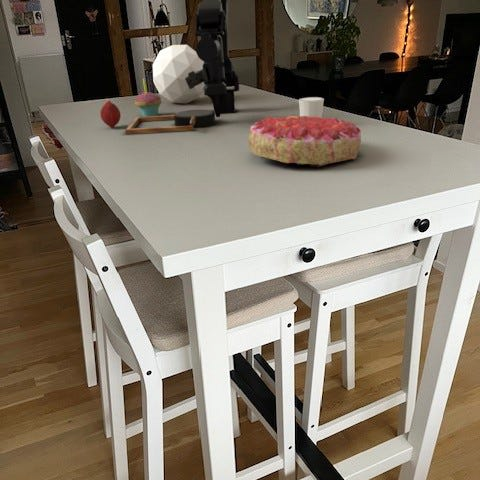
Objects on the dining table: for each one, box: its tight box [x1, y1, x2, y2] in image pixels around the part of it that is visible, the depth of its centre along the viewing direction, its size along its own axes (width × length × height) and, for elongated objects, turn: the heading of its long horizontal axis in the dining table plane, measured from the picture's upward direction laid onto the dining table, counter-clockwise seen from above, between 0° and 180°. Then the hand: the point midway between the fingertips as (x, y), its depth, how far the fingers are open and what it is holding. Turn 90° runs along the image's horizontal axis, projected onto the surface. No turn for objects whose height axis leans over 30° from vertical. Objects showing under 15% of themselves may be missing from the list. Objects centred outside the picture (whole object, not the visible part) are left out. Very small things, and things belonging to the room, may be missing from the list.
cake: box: [247, 115, 362, 168], centre depth 115 cm, size 25×25×8 cm
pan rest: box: [125, 114, 195, 135], centre depth 155 cm, size 19×19×1 cm
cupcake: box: [134, 76, 162, 117], centre depth 167 cm, size 9×8×12 cm
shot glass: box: [298, 96, 325, 118], centre depth 142 cm, size 7×7×7 cm
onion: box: [99, 98, 121, 129], centre depth 154 cm, size 6×6×8 cm
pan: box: [173, 109, 216, 129], centre depth 150 cm, size 12×20×3 cm, turn 2°
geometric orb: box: [152, 44, 206, 105], centre depth 186 cm, size 19×20×20 cm
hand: (218, 116), depth 154 cm, fingers closed, pressing on pan
